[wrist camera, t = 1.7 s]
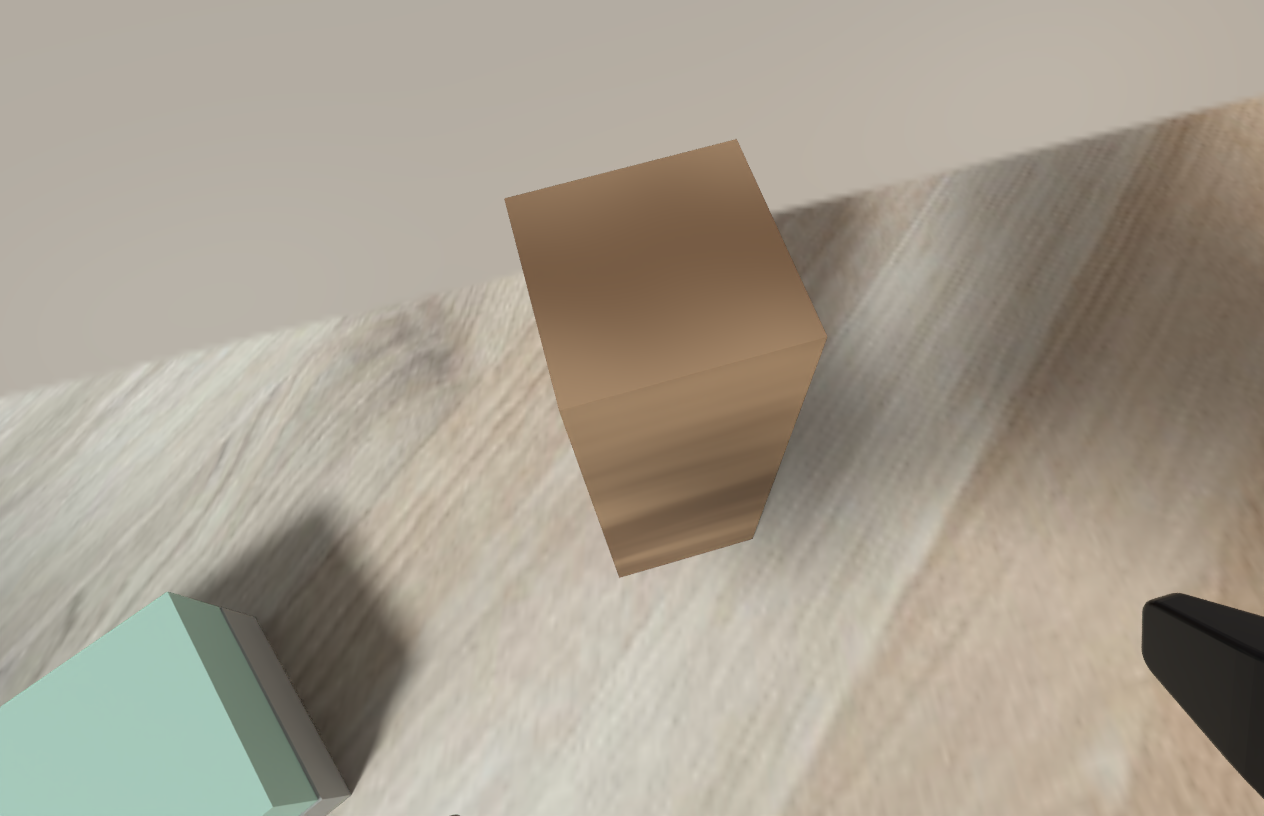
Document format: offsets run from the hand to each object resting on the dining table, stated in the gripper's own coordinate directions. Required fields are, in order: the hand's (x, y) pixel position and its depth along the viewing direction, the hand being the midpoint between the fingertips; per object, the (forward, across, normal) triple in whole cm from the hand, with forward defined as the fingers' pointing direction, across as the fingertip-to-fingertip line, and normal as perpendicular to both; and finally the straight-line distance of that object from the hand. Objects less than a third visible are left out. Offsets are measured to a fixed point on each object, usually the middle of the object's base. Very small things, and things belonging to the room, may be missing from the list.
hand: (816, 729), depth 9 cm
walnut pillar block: (+15, 0, +4) cm, 15 cm away
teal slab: (+10, +16, +6) cm, 20 cm away
